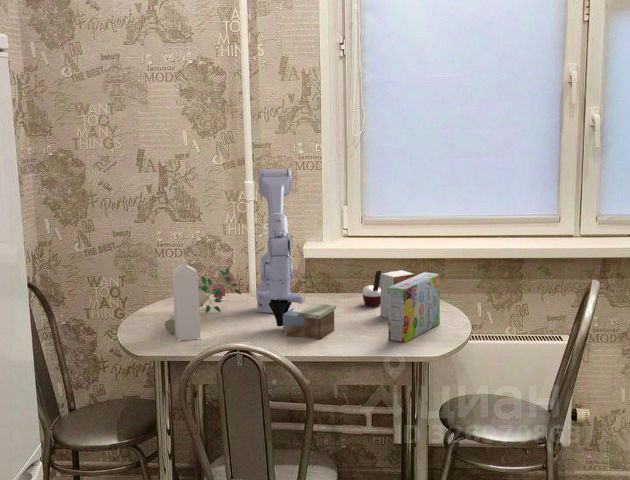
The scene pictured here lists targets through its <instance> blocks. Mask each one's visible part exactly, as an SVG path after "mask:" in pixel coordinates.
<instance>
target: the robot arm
mask: <svg viewBox="0 0 630 480" xmlns="http://www.w3.org/2000/svg"><path fill="white" fill-rule="evenodd" d="M257 176H258V177H257V180H258V182H257V183H258V193H259V196H261V197H264V198H265V199H266V202H267V236H268V238H267V242H266V243H267V246H266V247H267V248H266V249H267V250H266V251H267V252H266V253H264V254H263V255H262V256H261V258H260V280H261V281H260V282H259V283H258V285H257V288H256V302H257V303H256V306H257V307H256V311H255V312H260V313H267V314H268V313H269V314H273V316H274V319H275V322H276V326H277V327H283V314H284V313H286V312H288V311H293V310H294V309H295V306H291V305H292V303H297V304H300V305H302V304H304V303H305V295H302V294H297V293H293V292H291V281H292V280H293V279H294V269H293V257H292V241H291V237H290V233H289V225H288V224H289V223H288V221H289V220H288V217H287V215H285V214H284V198H285V197H287V196H289V195H290V193H291V188H292V170H291V169H290V168H289V167H288V168H274V169H273V168H272V169H271V168H270V169H262V168H259V170H258V171H257Z"/></svg>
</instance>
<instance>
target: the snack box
mask: <svg viewBox="0 0 630 480" xmlns="http://www.w3.org/2000/svg"><path fill="white" fill-rule="evenodd" d="M440 294H441V293H440V273H433V272H425V271H424V272H422V273H419V274H416V275H414V277H412V278H409V279H407V280H405V281H402V282H400V283H397V284H395V285H392V286H390V287H388V329H387V330H388V341H393V342H398V343H406V342H409V341H410V340H412V339H414V338H417V337H418V336H419V335H422V334H423V333H425V332H427V331H429V330H431V329H433V328H434V327H437V326H438V325H440V323H441V315H440V314H441V313H440V311H441V309H440V305H441V304H440V303H441V302H440V301H441V299H440V296H441V295H440Z"/></svg>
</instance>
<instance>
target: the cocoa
mask: <svg viewBox="0 0 630 480" xmlns="http://www.w3.org/2000/svg"><path fill="white" fill-rule="evenodd" d="M381 274H382V271H381V270H377V271H375V277H374V282H373V285H372V284H371V285H366V286H364V288H363V287H362V298H363V302H364V304H365V305H366V306H368V307H369V306H371V308H376V307H375V306H377V307H378V306H381V287H379V286H380V283H381Z"/></svg>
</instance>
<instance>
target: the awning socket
mask: <svg viewBox="0 0 630 480" xmlns="http://www.w3.org/2000/svg"><path fill="white" fill-rule="evenodd" d="M336 309H337V306H336V305H333V304H327V303H326V304H325V303H316V302H314V303H313V304H311V305H309V306H307V307H306V308H304V309H302V310H300V311H297V312H298V316H299V317H304V323H305V327H297V326H286V332H285V336H286V337H303V338H310V339H317V340H322V339H324V338H325V337H327V336H328V335H329V334H331V333H333V332H334V331H335V310H336Z"/></svg>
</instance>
